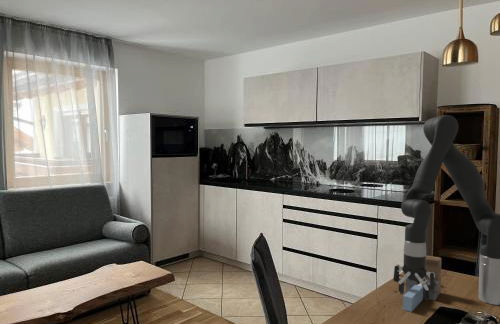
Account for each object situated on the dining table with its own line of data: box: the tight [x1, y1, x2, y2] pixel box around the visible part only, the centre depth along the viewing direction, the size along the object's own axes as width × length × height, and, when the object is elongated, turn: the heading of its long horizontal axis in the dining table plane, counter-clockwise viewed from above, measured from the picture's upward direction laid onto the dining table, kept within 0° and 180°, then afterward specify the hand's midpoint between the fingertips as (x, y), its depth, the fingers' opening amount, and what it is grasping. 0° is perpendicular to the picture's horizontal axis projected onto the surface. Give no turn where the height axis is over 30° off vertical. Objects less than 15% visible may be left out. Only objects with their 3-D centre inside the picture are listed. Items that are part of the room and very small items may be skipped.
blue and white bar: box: [402, 283, 424, 313], centre depth 143 cm, size 19×3×5 cm, turn 141°
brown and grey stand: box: [405, 254, 442, 302], centre depth 152 cm, size 10×11×14 cm
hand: (413, 296), depth 142 cm, fingers open, 8 cm apart
